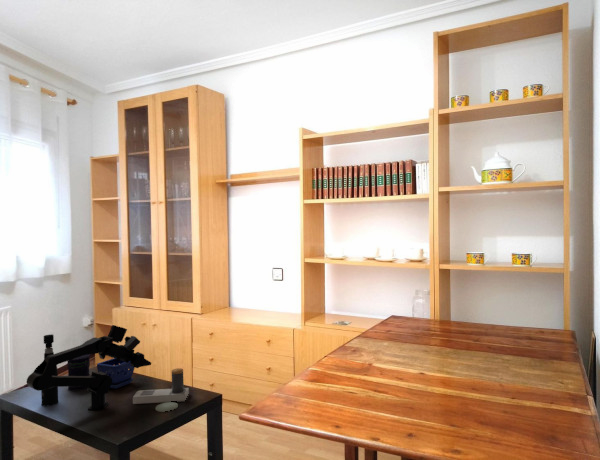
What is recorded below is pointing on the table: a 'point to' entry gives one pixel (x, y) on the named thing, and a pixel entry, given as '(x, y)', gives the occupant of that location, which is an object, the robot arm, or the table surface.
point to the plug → (177, 381)
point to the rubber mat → (166, 406)
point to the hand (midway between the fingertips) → (146, 361)
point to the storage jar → (78, 369)
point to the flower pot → (117, 372)
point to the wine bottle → (52, 394)
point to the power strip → (158, 396)
